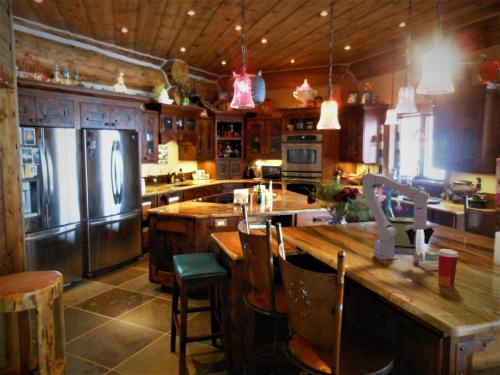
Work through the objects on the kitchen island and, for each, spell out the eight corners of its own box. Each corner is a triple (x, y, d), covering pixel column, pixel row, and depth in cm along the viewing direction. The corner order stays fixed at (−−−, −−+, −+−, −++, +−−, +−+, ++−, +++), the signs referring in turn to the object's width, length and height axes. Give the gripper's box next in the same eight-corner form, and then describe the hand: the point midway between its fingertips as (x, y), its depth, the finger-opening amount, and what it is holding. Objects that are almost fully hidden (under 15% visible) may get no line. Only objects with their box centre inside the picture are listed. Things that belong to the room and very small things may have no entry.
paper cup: (450, 281, 162) (452, 248, 160) (460, 287, 154) (462, 253, 153) (431, 281, 162) (433, 248, 160) (441, 287, 154) (443, 253, 152)
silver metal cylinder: (416, 264, 183) (416, 254, 183) (411, 262, 187) (412, 252, 187) (424, 264, 184) (424, 254, 183) (419, 262, 188) (419, 252, 187)
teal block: (429, 264, 184) (430, 254, 184) (424, 261, 188) (425, 252, 188) (437, 264, 185) (437, 254, 185) (432, 261, 189) (432, 251, 188)
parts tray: (427, 270, 175) (427, 265, 175) (418, 265, 182) (418, 261, 182) (451, 269, 177) (451, 264, 177) (441, 264, 184) (441, 260, 184)
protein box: (416, 249, 211) (417, 221, 210) (386, 247, 214) (388, 220, 213) (412, 244, 221) (413, 217, 220) (384, 242, 225) (385, 216, 223)
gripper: (411, 218, 178) (410, 247, 179) (439, 217, 181) (438, 245, 182) (402, 215, 185) (401, 243, 186) (429, 214, 188) (428, 242, 189)
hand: (419, 244), depth 185 cm, fingers open, 7 cm apart
